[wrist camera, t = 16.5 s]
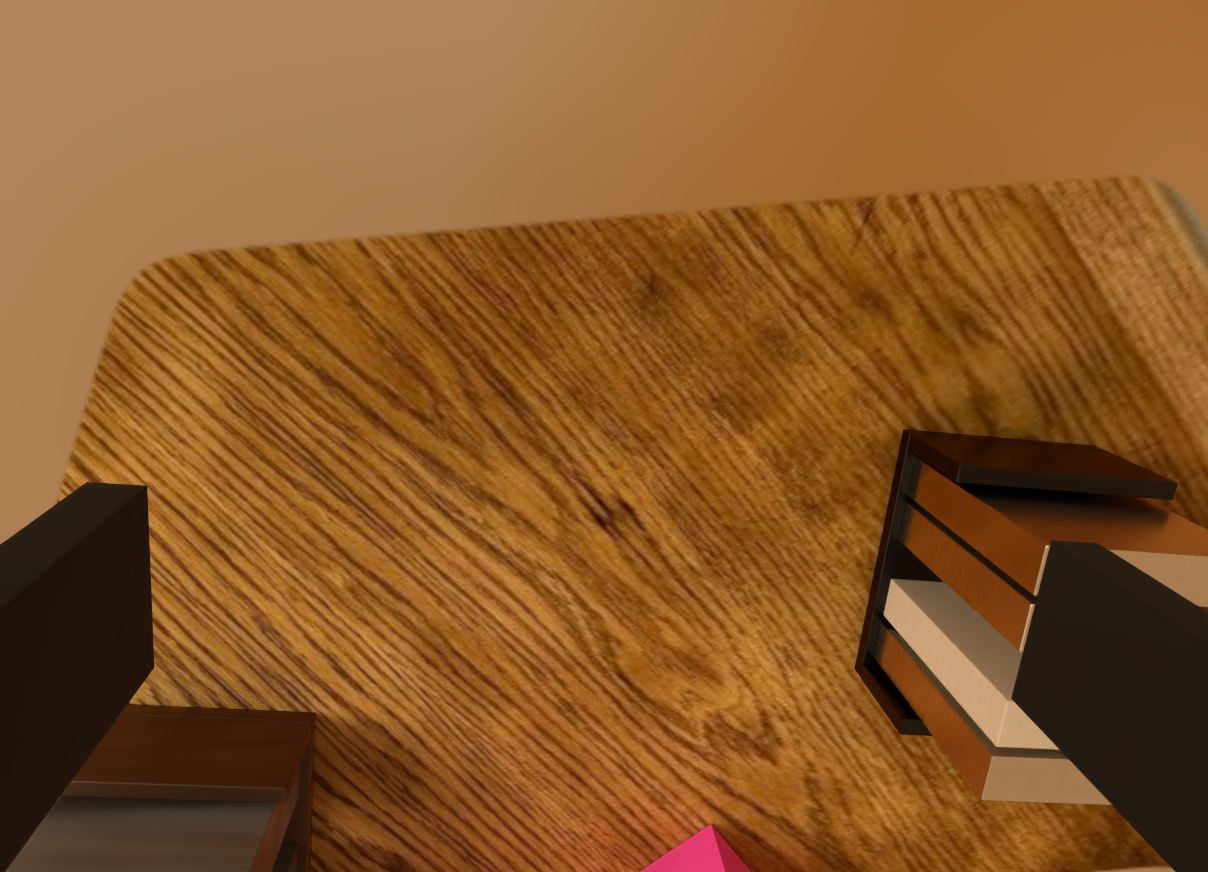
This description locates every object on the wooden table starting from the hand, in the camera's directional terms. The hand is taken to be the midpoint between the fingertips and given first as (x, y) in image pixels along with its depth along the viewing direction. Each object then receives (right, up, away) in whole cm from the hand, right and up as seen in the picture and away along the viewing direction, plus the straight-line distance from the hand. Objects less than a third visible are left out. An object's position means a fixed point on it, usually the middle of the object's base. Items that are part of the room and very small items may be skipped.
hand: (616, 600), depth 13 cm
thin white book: (+18, -6, +32) cm, 37 cm away
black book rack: (+18, -4, +32) cm, 37 cm away
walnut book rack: (-20, -16, +32) cm, 41 cm away
